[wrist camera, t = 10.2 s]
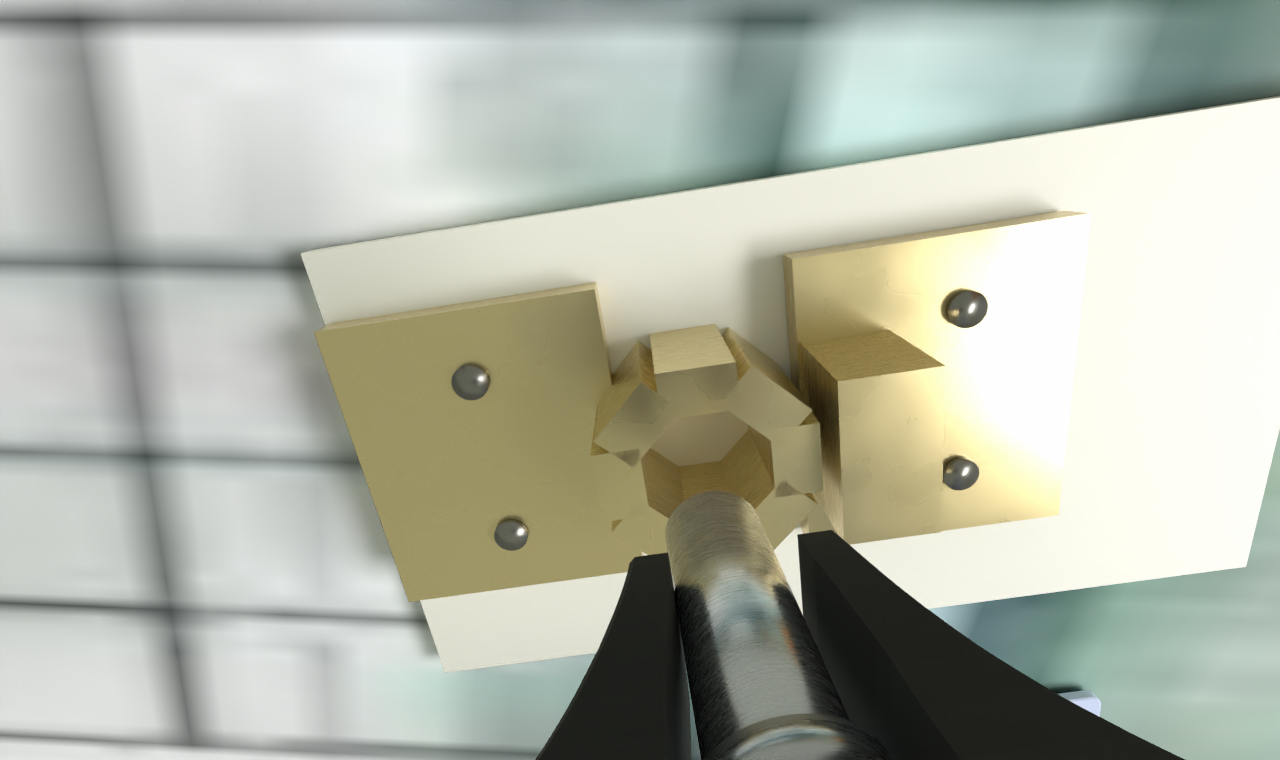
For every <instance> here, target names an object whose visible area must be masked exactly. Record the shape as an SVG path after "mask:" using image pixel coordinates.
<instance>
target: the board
mask: <svg viewBox="0 0 1280 760" xmlns="http://www.w3.org/2000/svg"><path fill="white" fill-rule="evenodd" d="M1057 211H1073V212H1083V213H1091V219H1090V228H1089V237H1088V246H1087V256H1086V265H1085V274H1084V283H1083V293H1082V302H1081V311H1080V321H1079V330H1078V339H1077V348H1076V358H1075V367H1074V376H1073V385H1072V395H1071V404H1070V413H1069V423H1068V432H1067V441H1066V450H1065V460H1064V469H1063V478H1062V487H1061V497H1060V506H1059V515H1056V516H1049V517H1042V518H1034V519H1027V520H1020V521H1012V522H1005V523H998V524H990V525H983V526H976V527H968V528H961V529H954V530H947V531H941V532H939V533H932V534H924V535H917V536H910V537H903V538H895V539H888V540H881V541H873V542H866V543H859V544H851V545H850V546H852V547H853V548H854V549H855V550H856V551H857V552H858V553H860V554H861V555H862V556H863V557H864V558H865V559H867V560H868V561H869V562H870V563H871V564H872V565H874V566H875V567H876V568H877V569H878V570H879V571H881V572H882V573H883V574H884V575H885V576H887V577H888V578H889V579H890V580H892V581H893V582H894V583H895V584H896V585H898V586H899V587H900V588H901V589H903V590H904V591H905V592H907V593H908V594H909V595H910V596H912V597H913V598H914V599H915V600H917V601H918V602H919V603H921V604H922V605H923V606H924V607H926V608H927V609H930V608H938V607H945V606H953V605H960V604H968V603H975V602H983V601H991V600H998V599H1006V598H1013V597H1021V596H1028V595H1036V594H1043V593H1051V592H1058V591H1066V590H1074V589H1081V588H1089V587H1096V586H1104V585H1111V584H1119V583H1126V582H1134V581H1142V580H1149V579H1157V578H1164V577H1172V576H1179V575H1187V574H1194V573H1202V572H1209V571H1217V570H1225V569H1232V568H1240V567H1246V564H1247V560H1248V556H1249V552H1250V548H1251V544H1252V540H1253V535H1254V531H1255V527H1256V523H1257V519H1258V515H1259V511H1260V507H1261V503H1262V498H1263V494H1264V490H1265V486H1266V482H1267V478H1268V474H1269V470H1270V466H1271V461H1272V457H1273V453H1274V449H1275V445H1276V441H1277V437H1278V433H1279V429H1280V96H1276V97H1270V98H1263V99H1257V100H1251V101H1244V102H1238V103H1232V104H1226V105H1219V106H1213V107H1207V108H1200V109H1194V110H1188V111H1182V112H1175V113H1169V114H1163V115H1156V116H1150V117H1144V118H1137V119H1131V120H1125V121H1119V122H1112V123H1106V124H1100V125H1093V126H1087V127H1081V128H1075V129H1068V130H1062V131H1056V132H1049V133H1043V134H1037V135H1031V136H1024V137H1018V138H1012V139H1005V140H999V141H993V142H987V143H980V144H974V145H968V146H961V147H955V148H949V149H942V150H936V151H930V152H924V153H917V154H911V155H905V156H898V157H892V158H886V159H880V160H873V161H867V162H861V163H854V164H848V165H842V166H836V167H829V168H823V169H817V170H810V171H804V172H798V173H792V174H785V175H779V176H773V177H766V178H760V179H754V180H747V181H741V182H735V183H729V184H722V185H716V186H710V187H703V188H697V189H691V190H685V191H678V192H672V193H666V194H659V195H653V196H647V197H641V198H634V199H628V200H622V201H615V202H609V203H603V204H597V205H590V206H584V207H578V208H571V209H565V210H559V211H553V212H546V213H540V214H534V215H527V216H521V217H515V218H508V219H502V220H496V221H490V222H483V223H477V224H471V225H464V226H458V227H452V228H446V229H439V230H433V231H427V232H420V233H414V234H408V235H402V236H395V237H389V238H383V239H376V240H370V241H364V242H358V243H351V244H345V245H339V246H332V247H326V248H320V249H314V250H310V251H307V252H303V253H300V254H301V257H302V260H303V263H304V265H305V268H306V271H307V274H308V277H309V280H310V283H311V286H312V289H313V292H314V294H315V297H316V300H317V303H318V306H319V309H320V312H321V315H322V318H323V321H324V323H325V326H327V325H329V324H330V323H334V322H341V321H347V320H354V319H360V318H367V317H373V316H380V315H386V314H393V313H399V312H405V311H412V310H418V309H425V308H431V307H438V306H444V305H451V304H457V303H464V302H470V301H477V300H483V299H490V298H496V297H503V296H509V295H516V294H522V293H529V292H535V291H542V290H548V289H554V288H561V287H567V286H574V285H580V284H587V283H593V282H597V288H598V294H599V299H600V305H601V311H602V316H603V322H604V328H605V333H606V339H607V345H608V350H609V356H610V361H611V367H612V373H614V371H615V370H616V369H617V367H618V366H619V365H620V363H621V362H622V361H623V359H624V358H625V357H626V356H627V354H628V353H629V352H630V350H631V349H632V348H633V346H634V345H635V344H636V342H637V341H640V342H641V343H643V344H644V345H645V346H647V347H648V348H650V349H651V341H650V333H657V332H664V331H670V330H677V329H683V328H690V327H697V326H703V325H710V324H716V326H717V328H718V330H719V332H720V333H721V335H722V334H723V333H724V331H725V330H726V329H727V328H728V327H729V328H730V329H732V330H733V331H735V332H736V333H737V334H739V335H740V336H741V337H743V338H744V339H745V340H747V341H748V342H749V343H751V344H752V345H753V346H755V347H756V348H757V349H759V350H760V351H762V352H763V353H764V354H766V355H767V356H768V357H770V358H771V359H772V360H774V361H775V362H776V363H778V364H779V366H780V367H781V368H782V370H783V371H784V372H785V374H786V375H787V376H788V378H789V379H790V380H791V371H790V356H789V341H788V326H787V312H786V297H785V282H784V267H783V254H785V253H792V252H798V251H805V250H811V249H818V248H824V247H831V246H837V245H844V244H850V243H857V242H863V241H870V240H876V239H883V238H889V237H896V236H902V235H908V234H915V233H921V232H928V231H934V230H941V229H947V228H954V227H960V226H967V225H973V224H980V223H986V222H993V221H999V220H1006V219H1012V218H1019V217H1025V216H1032V215H1038V214H1045V213H1051V212H1057ZM651 350H652V349H651ZM747 430H748V424H746V423H745V422H744V421H742V420H741V419H739V418H738V417H736V416H735V415H734V414H732V413H731V412H729V411H726V412H720V413H713V414H706V415H699V416H692V417H685V418H678V419H673V421H672V422H671V423H670V424H669V425H668V427H667V428H666V429H665V430H664V431H663V433H662V434H661V435H660V436H659V438H658V439H657V440H656V441H655V442H654V444H653V445H652V446H651V447H650V448H651V449H653V450H655V451H656V452H658V453H659V454H661V455H662V456H664V457H665V458H667V459H668V460H670V461H671V462H673V463H674V464H676V465H677V466H679V467H680V466H687V465H694V464H701V463H708V462H715V461H721V460H722V459H723V458H724V457H725V455H726V454H727V453H728V452H729V451H730V450H731V449H732V447H733V446H734V445H735V444H736V443H737V442H738V441H739V439H740V438H741V437H742V436H743V435H744V434H745V432H746V431H747ZM797 534H803V533H802V531H801V523H800V524H799V525H798V526H797V527H796V528H795V529H794V530H793V531H792V532H791V533H790V534H789V535H788V536H787V537H786V538H785V539H784V540H783V541H782V542H781V543H780V545H779V546H778V547H777V548H776V549H775V550H774V552H775V555H776V557H777V559H778V561H779V563H780V566H781V568H782V570H783V572H784V575H785V577H786V579H787V581H788V583H789V586H790V588H791V590H792V592H793V595H794V597H795V599H796V601H797V603H798V606H799V608H800V610H801V612H802V615H803V608H802V594H801V580H800V565H799V551H798V537H797ZM645 555H647V554H645V553H644V556H645ZM626 576H627V572H625V573H617V574H610V575H603V576H595V577H588V578H581V579H574V580H566V581H559V582H552V583H544V584H537V585H530V586H522V587H515V588H508V589H501V590H493V591H486V592H479V593H471V594H464V595H457V596H449V597H442V598H435V599H428V600H420V602H421V605H422V608H423V611H424V613H425V616H426V619H427V622H428V625H429V628H430V631H431V634H432V637H433V640H434V642H435V645H436V648H437V651H438V654H439V657H440V660H441V663H442V666H443V669H444V671H445V673H447V672H455V671H462V670H470V669H477V668H485V667H492V666H500V665H507V664H515V663H523V662H530V661H538V660H545V659H553V658H560V657H568V656H575V655H583V654H591V653H597V650H598V648H599V646H600V644H601V642H602V639H603V637H604V635H605V632H606V630H607V627H608V625H609V623H610V620H611V618H612V616H613V613H614V611H615V608H616V605H617V603H618V600H619V597H620V595H621V592H622V589H623V586H624V582H625V579H626Z"/></svg>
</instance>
